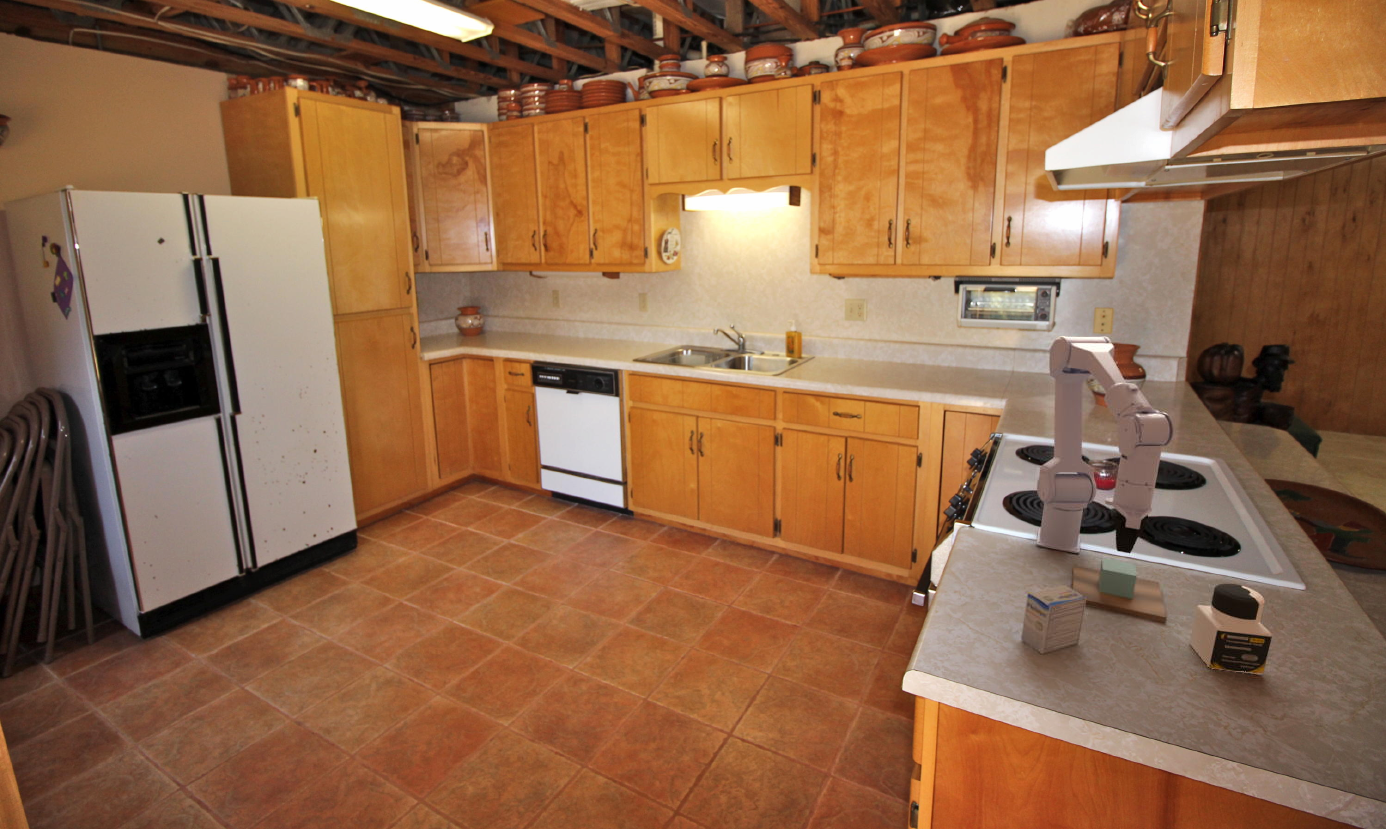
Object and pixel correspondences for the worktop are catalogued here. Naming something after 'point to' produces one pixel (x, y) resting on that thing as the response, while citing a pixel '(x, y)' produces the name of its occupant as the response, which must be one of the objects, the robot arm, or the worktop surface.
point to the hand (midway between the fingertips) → (1123, 550)
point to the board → (1142, 604)
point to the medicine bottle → (1232, 630)
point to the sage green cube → (1117, 578)
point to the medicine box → (1053, 618)
